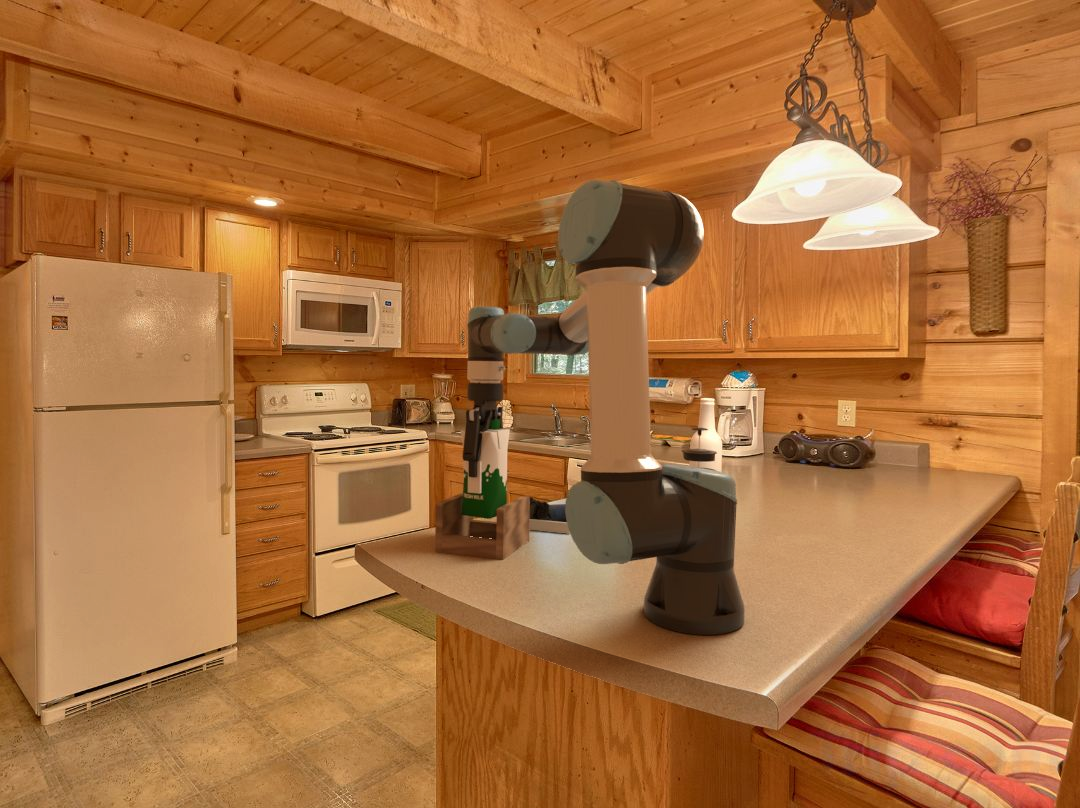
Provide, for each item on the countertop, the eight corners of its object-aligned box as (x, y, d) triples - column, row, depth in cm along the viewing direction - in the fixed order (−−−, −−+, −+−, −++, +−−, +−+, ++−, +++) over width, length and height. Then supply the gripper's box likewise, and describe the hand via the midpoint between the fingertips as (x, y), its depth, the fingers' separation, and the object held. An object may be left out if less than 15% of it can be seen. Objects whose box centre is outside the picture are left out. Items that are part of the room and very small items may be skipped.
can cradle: (569, 534, 150) (569, 523, 150) (519, 529, 154) (520, 518, 154) (586, 520, 165) (586, 510, 165) (540, 515, 169) (541, 506, 169)
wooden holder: (503, 559, 130) (503, 509, 129) (435, 551, 135) (435, 503, 134) (529, 541, 144) (529, 495, 144) (466, 534, 149) (467, 490, 148)
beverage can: (543, 535, 153) (581, 531, 161) (548, 504, 152) (587, 501, 159) (521, 521, 160) (559, 517, 168) (526, 491, 159) (564, 488, 166)
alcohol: (715, 509, 180) (718, 399, 178) (684, 505, 185) (686, 398, 183) (724, 503, 187) (727, 398, 186) (694, 500, 192) (697, 397, 190)
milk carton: (512, 512, 141) (514, 419, 140) (490, 520, 133) (491, 422, 132) (478, 507, 145) (479, 417, 144) (454, 515, 137) (455, 420, 136)
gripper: (480, 383, 126) (479, 499, 127) (520, 381, 147) (519, 481, 148) (445, 382, 129) (444, 496, 130) (489, 380, 149) (488, 479, 150)
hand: (484, 488), depth 139 cm, fingers closed on milk carton, 9 cm apart
